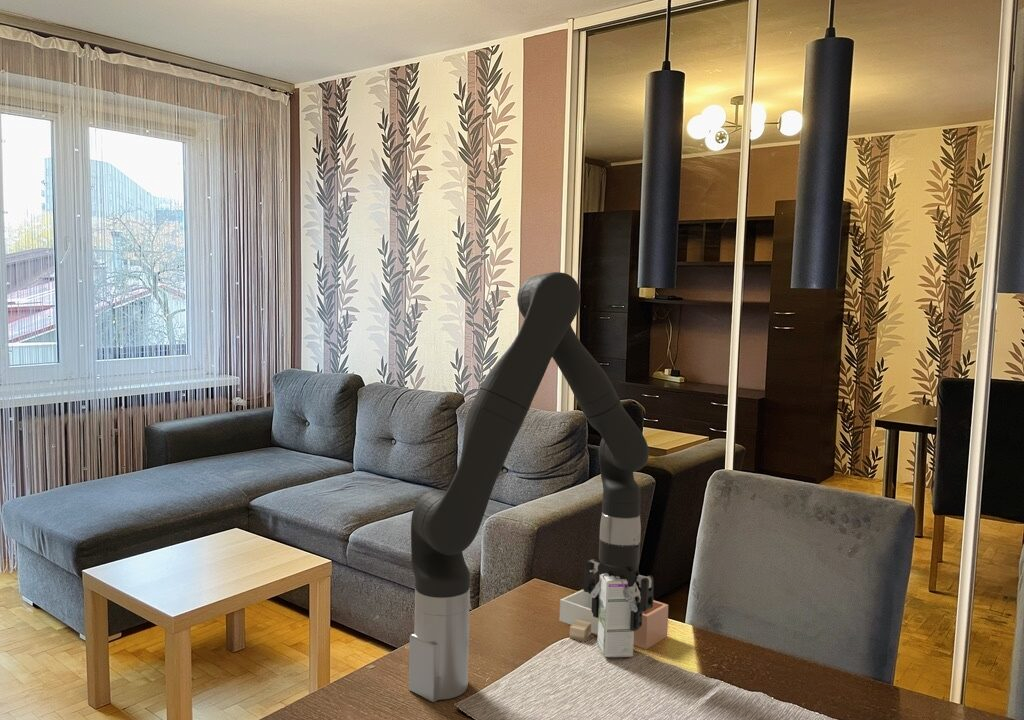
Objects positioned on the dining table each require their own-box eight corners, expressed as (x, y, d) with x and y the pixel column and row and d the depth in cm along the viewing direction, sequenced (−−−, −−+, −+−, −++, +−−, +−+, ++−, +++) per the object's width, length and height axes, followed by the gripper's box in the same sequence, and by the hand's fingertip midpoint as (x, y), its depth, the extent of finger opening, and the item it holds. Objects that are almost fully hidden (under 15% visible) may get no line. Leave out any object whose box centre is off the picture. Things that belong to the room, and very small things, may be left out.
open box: (645, 652, 141) (647, 616, 141) (610, 639, 146) (611, 604, 146) (667, 639, 147) (668, 604, 147) (632, 627, 152) (633, 594, 152)
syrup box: (634, 657, 137) (638, 579, 136) (602, 657, 136) (606, 580, 135) (625, 643, 142) (628, 569, 142) (595, 644, 142) (598, 569, 141)
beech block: (583, 645, 144) (584, 630, 144) (569, 641, 145) (569, 627, 145) (590, 637, 147) (591, 622, 147) (576, 634, 149) (577, 619, 148)
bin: (599, 638, 147) (600, 613, 146) (559, 623, 153) (560, 599, 153) (626, 623, 154) (627, 599, 154) (587, 609, 161) (588, 587, 161)
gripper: (576, 533, 140) (573, 617, 141) (642, 550, 131) (638, 641, 131) (599, 525, 146) (596, 606, 146) (664, 542, 136) (659, 628, 137)
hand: (616, 622), depth 139 cm, fingers closed on syrup box, 8 cm apart
